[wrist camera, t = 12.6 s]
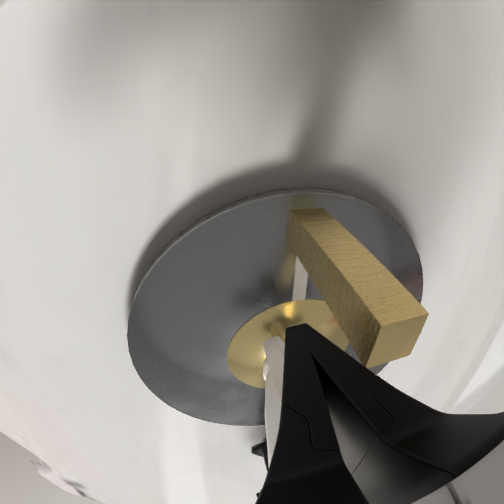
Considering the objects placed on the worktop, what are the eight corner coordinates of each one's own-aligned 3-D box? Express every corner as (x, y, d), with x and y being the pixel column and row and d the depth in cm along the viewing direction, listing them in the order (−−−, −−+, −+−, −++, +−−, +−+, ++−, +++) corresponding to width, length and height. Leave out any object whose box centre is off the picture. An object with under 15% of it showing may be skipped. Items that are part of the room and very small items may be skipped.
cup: (263, 401, 22) (286, 486, 15) (204, 329, 17) (218, 453, 10) (342, 368, 22) (382, 448, 15) (313, 281, 17) (378, 391, 10)
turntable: (374, 389, 27) (411, 458, 19) (167, 425, 24) (172, 513, 16) (444, 190, 17) (550, 256, 8) (91, 205, 13) (-3, 334, 5)
